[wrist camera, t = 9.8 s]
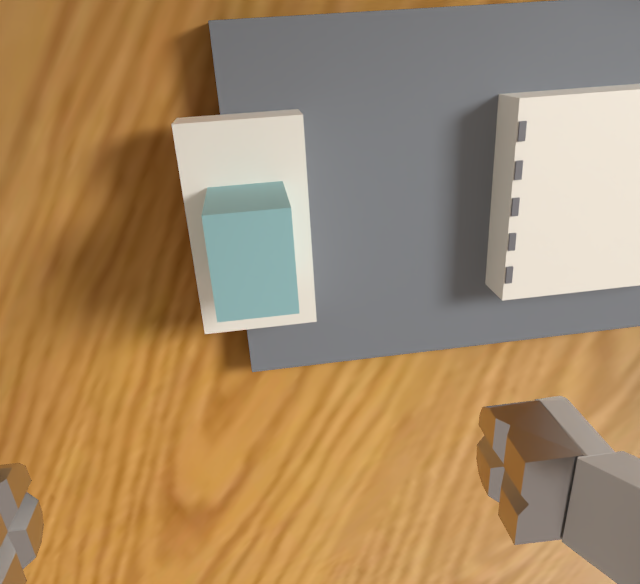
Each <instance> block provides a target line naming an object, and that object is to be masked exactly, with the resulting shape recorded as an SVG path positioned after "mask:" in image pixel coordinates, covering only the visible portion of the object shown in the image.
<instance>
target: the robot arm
mask: <svg viewBox="0 0 640 584" xmlns="http://www.w3.org/2000/svg"><path fill="white" fill-rule="evenodd" d="M479 426H480V428H481V430H482V431H483V433H484V437H483V438H482V439H481V440H480V441H479V443H478V444H477V457H476V459H477V466H478V472H479V476H480V479H481V482H482V485H483V487H484V489H485V491H486V493H487V495H488V496H489V497H491V498H493V499H494V500H496V501H497V502H499V512H498V515H499V517H500V519H501V521H502V523H503V525H504V526H505V528H506V530H507V532H508V534H509V536H510V538H511V539H512V541H513V543H514V545H518V544H526V543H535V542H544V541H552V540H561V539H562V542H563V543H564V544H566V545H567V546H568V547H570V548H571V549H572V550H573V551H575V552H576V553H577V554H579V555H580V556H581V557H583V558H584V559H585V560H587V561H588V562H589V563H591V564H592V565H593V566H595V567H596V568H597V569H599V570H600V571H601V572H603V573H604V574H605V575H607V576H608V577H609V578H611V579H612V580H613V581H614V582H616V583H617V584H640V458H637V457H635V456H633V455H631V454H629V453H626V452H624V451H620V452H615V451H614V450H613V449H612V448H611V447H610V446H609V445H608V444H607V442H606V441H605V440H604V439H603V438H602V437H601V436H600V435H599V434H598V432H597V431H596V430H595V429H594V428H593V427H592V426H591V425H590V424H589V422H588V421H587V420H586V419H585V418H584V417H583V416H582V415H581V414H580V412H579V411H578V410H577V409H576V408H575V407H574V406H573V405H572V404H571V402H570V401H569V400H568V399H567V398H565V397H562V396H556V397H549V398H542V399H535V400H534V401H526V402H518V403H510V404H502V405H495V406H487V407H482V410H481V412H480V417H479ZM31 481H32V480H31V478H30V475H29V473H28V471H27V468H26V466H25V465H22V464H20V463H14V464H4V465H0V584H26V581H27V580H26V577H25V575H24V572H23V569H24V568H25V567H26V566H27V565H28V564H29V563H30V562H31V561H32V560H34V559H35V558H36V556H37V553H38V551H39V548H40V545H41V542H42V535H43V527H44V523H43V514H42V509H41V506H40V503H39V500H37V499H36V498H34V497H33V496H32V495H30V494H29V493H27V490H28V487H29V485H30V483H31Z"/></svg>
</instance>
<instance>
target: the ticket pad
mask: <svg viewBox="0 0 640 584" xmlns="http://www.w3.org/2000/svg"><path fill="white" fill-rule="evenodd" d="M485 284H486V285H487V286H488V287H489V288H490V289H491V290H492V291H493V292H494V293H495V294H496V295H497V296H498V297H499V298H500V299H501V300H502V301H503V300H512V299H521V298H530V297H539V296H548V295H557V294H566V293H575V292H584V291H593V290H602V289H611V288H620V287H629V286H638V285H640V84H628V85H614V86H601V87H587V88H574V89H560V90H546V91H533V92H519V93H506V94H499V97H498V111H497V125H496V139H495V153H494V167H493V181H492V195H491V209H490V223H489V237H488V251H487V265H486V279H485Z"/></svg>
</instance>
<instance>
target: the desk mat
mask: <svg viewBox="0 0 640 584" xmlns="http://www.w3.org/2000/svg"><path fill="white" fill-rule="evenodd" d="M208 22H209V30H210V38H211V46H212V54H213V62H214V70H215V78H216V86H217V94H218V102H219V110H220V115H223V114H237V113H250V112H264V111H277V110H291V109H299V110H300V112H301V113H302V114H303V120H304V135H305V151H306V166H307V181H308V196H309V211H310V227H311V242H312V257H313V272H314V288H315V303H316V318H317V322H310V323H301V324H292V325H283V326H274V327H265V328H256V329H247V335H248V343H249V351H250V359H251V367H252V372H256V371H265V370H273V369H282V368H290V367H299V366H307V365H316V364H324V363H332V362H341V361H349V360H358V359H366V358H375V357H383V356H391V355H400V354H408V353H417V352H425V351H434V350H442V349H450V348H459V347H467V346H476V345H484V344H493V343H501V342H509V341H518V340H526V339H535V338H543V337H552V336H560V335H568V334H577V333H585V332H594V331H602V330H611V329H619V328H628V327H636V326H640V285H638V286H629V287H620V288H611V289H602V290H593V291H584V292H575V293H566V294H557V295H548V296H539V297H530V298H521V299H512V300H503V301H502V300H501V299H500V298H499V297H498V296H497V295H496V294H495V293H494V292H493V291H492V290H491V289H490V288H489V287H488V286H487V285H486V284H485V279H486V265H487V251H488V237H489V223H490V209H491V195H492V181H493V167H494V153H495V139H496V125H497V111H498V97H499V94H506V93H519V92H533V91H546V90H560V89H574V88H587V87H601V86H614V85H628V84H640V0H558V1H541V2H523V3H506V4H488V5H471V6H454V7H436V8H419V9H402V10H384V11H367V12H349V13H332V14H315V15H297V16H280V17H263V18H245V19H228V20H210V21H208Z"/></svg>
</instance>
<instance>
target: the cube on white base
mask: <svg viewBox="0 0 640 584" xmlns="http://www.w3.org/2000/svg"><path fill="white" fill-rule="evenodd" d="M171 125H172V131H173V137H174V144H175V150H176V156H177V162H178V169H179V175H180V181H181V188H182V194H183V200H184V206H185V213H186V219H187V225H188V231H189V238H190V244H191V250H192V256H193V263H194V269H195V275H196V281H197V288H198V294H199V300H200V306H201V313H202V319H203V325H204V331H205V334H211V333H220V332H229V331H238V330H247V329H256V328H265V327H274V326H283V325H292V324H301V323H310V322H317V318H316V303H315V288H314V272H313V257H312V242H311V227H310V211H309V196H308V181H307V166H306V151H305V135H304V120H303V114H302V113H301V112H300V110H299V109H291V110H277V111H264V112H250V113H237V114H223V115H209V116H196V117H182V118H176V119H175V121H174V122H173V123H172V124H171Z"/></svg>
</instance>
